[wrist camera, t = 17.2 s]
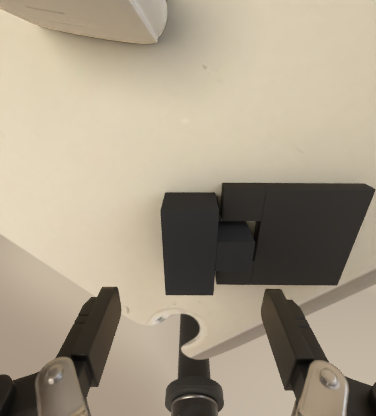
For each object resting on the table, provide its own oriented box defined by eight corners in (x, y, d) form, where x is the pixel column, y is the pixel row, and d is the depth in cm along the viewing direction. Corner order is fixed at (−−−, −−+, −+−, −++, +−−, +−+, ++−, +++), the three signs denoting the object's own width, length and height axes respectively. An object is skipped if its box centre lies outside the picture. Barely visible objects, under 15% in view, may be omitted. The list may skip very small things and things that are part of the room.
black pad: (330, 276, 27) (337, 285, 26) (215, 275, 27) (216, 284, 26) (364, 183, 22) (376, 189, 21) (222, 182, 22) (224, 188, 21)
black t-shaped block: (239, 269, 27) (246, 295, 23) (168, 269, 27) (165, 295, 23) (249, 192, 23) (260, 210, 19) (165, 192, 23) (160, 210, 19)
